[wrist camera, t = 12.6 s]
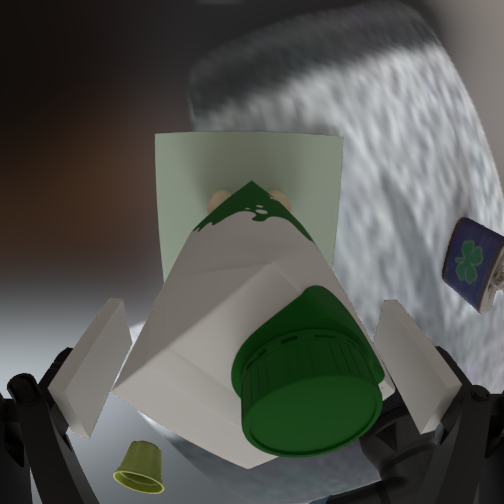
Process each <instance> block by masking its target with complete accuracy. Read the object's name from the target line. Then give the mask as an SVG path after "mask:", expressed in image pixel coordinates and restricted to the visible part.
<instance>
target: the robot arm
mask: <svg viewBox="0 0 504 504" xmlns="http://www.w3.org/2000/svg"><path fill="white" fill-rule="evenodd" d="M373 344H374V346H375V348H376V350H377V351H378V353H379V355H380V357H381V359H382V361H383V362H384V364H385V366H386V368H387V370H388V372H389V374H390V375H391V377H392V379H393V381H394V383H395V385H396V387H397V389H398V391H399V393H400V394H401V396H402V398H403V400H404V402H405V404H406V406H404V407H401V408H398V409H395V410H393V411H391V412H389V413H387V414H385V415H384V416H382V417H380V418H379V419H377V420H376V422H375V423H374V424H373V426H372V427H371V428H370V429H369V430H368V431H367V432H366V433H365V434H363V435H362V436H361V437H360V445H361V448H362V451H363V453H364V455H365V456H366V457H367V458H368V459H369V461H370V462H371V463H372V464H373V465H374V466H375V467H376V469H377V470H378V471H379V474H380V477H381V481H378V482H376V483H372V484H370V485H367V486H364V487H361V488H357V489H354V490H351V491H348V492H344V493H340V494H337V495H330V496H328V497H326V498H323V499H319V500H316V501H312V502H310V503H309V504H473V501H474V498H475V494H476V490H477V486H478V483H479V504H504V391H503V392H502V394H490V392H489V391H488V390H487V389H486V388H484V387H482V386H480V385H472V384H471V382H470V381H469V380H468V378H467V377H466V376H465V374H464V373H463V372H462V370H461V369H460V368H459V366H457V364H456V362H455V361H453V359H452V357H451V356H450V355H449V353H448V352H447V351H445V350H444V349H442V348H441V347H440V346H437V347H434V346H433V344H432V343H431V342H430V340H429V339H428V338H427V337H426V335H425V334H424V333H423V331H422V330H421V329H420V328H419V326H418V325H417V324H416V323H415V321H414V320H413V319H412V318H411V316H410V315H409V314H408V313H407V312H406V310H405V309H404V308H403V307H402V305H401V304H400V303H399V302H398V301H397V300H384V303H383V307H382V311H381V315H380V319H379V323H378V327H377V331H376V334H375V338H374V342H373ZM131 345H132V340H131V335H130V331H129V326H128V322H127V317H126V312H125V307H124V303H123V299H113V298H109V300H108V301H107V302H106V304H105V305H104V306H103V308H102V309H101V310H100V312H99V313H98V315H97V316H96V317H95V319H94V320H93V322H92V323H91V324H90V326H89V327H88V328H87V330H86V331H85V333H84V334H83V335H82V337H81V338H80V340H79V341H78V343H77V344H76V346H75V347H74V348H68V347H67V348H66V349H65V350H63V351H62V352H61V353H59V354H58V356H57V357H56V359H55V360H54V363H52V364H51V366H50V369H48V370H47V372H46V373H45V375H44V376H43V378H42V379H41V381H40V382H39V384H37V382H36V380H35V378H34V376H32V375H31V374H27V373H22V374H18V375H16V376H14V377H13V378H12V379H10V381H9V382H8V384H7V390H8V392H9V394H10V395H11V397H12V399H5V398H3V396H2V395H1V393H0V504H33V503H32V493H31V480H30V468H31V471H32V474H33V478H34V481H35V484H36V487H37V490H38V493H39V495H40V498H41V501H42V503H43V504H100V503H99V502H98V500H97V498H96V496H95V494H94V492H93V491H92V488H91V487H90V485H89V483H88V481H87V479H86V476H85V474H84V472H83V470H82V468H81V466H80V464H79V461H78V459H77V457H76V454H75V452H74V450H73V447H72V445H71V443H70V440H69V438H68V436H67V434H66V431H67V429H68V427H70V429H71V430H72V432H73V434H74V435H78V436H82V437H85V438H89V439H90V437H91V435H92V432H93V430H94V427H95V425H96V423H97V420H98V418H99V415H100V413H101V411H102V408H103V406H104V404H105V402H106V399H107V397H108V395H109V392H110V390H111V388H112V386H113V383H114V381H115V379H116V377H117V375H118V373H119V370H120V368H121V366H122V364H123V362H124V360H125V358H126V355H127V353H128V351H129V349H130V347H131ZM440 421H441V422H442V424H443V426H444V427H443V429H442V430H441V432H440V433H439V435H438V436H437V438H435V429H436V427H437V426H438V424H439V423H440ZM437 440H438V442H437ZM436 442H437V444H436Z"/></svg>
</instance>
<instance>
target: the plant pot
mask: <svg viewBox="0 0 504 504" xmlns="http://www.w3.org/2000/svg"><path fill="white" fill-rule="evenodd" d="M113 477H114V479H115V480H116V481H118V482H119V483H120V484H122V485H124V486H125V487H128V488H130V489H133V490H135V491H139V492H144V493H152V494H154V493H161V492H162V491H163V490H164V486H163V484H162V479H161V450H159V448H158V447H157V446H156V445H154V444H152V443H149V442H146V441H139V442H137V441H134V442H132V443H131V445H130V447H129V449H128V452H127V454H126V456H125V458H124V460H123V462H122V464H121V466H120V467H118V469H117V471H115V472H114V473H113Z"/></svg>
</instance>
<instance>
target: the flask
mask: <svg viewBox="0 0 504 504" xmlns="http://www.w3.org/2000/svg"><path fill="white" fill-rule="evenodd" d="M442 273H443V274H442V277H443V278H442V279H443V280H444V282H445V283H446V284H448V285H449V286H450V287H451V288H453V289H454V290H455V291H456V292H457V293H458V294H460V296H461V297H463V298H464V299H465V300H466V301H467V302H468V303H469V304H471V305H472V306H473V307H474V308H475V309H476V310H477V311H478V312H479V313H480V314H484V313H486V312H487V311H488V310H489V309H490V308H491V306H492V303H493V299H494V296H495V293H496V290H497V291H498V290H499V289H500V290H503V292H504V237H503V236H502V235H500V234H498V233H496V232H494V231H492V230H490V229H488V228H486V227H485V226H483V225H481V224H479V223H477V222H475V221H473V220H471V219H469V218H464V217H462V218H460V219H459V220H458V222H457V224H456V226H455V228H454V231H453V234H452V237H451V239H450V242H449V246H448V251H447V254H446V258H445V263H444V267H443V272H442ZM498 288H499V289H498Z"/></svg>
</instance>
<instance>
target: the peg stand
mask: <svg viewBox="0 0 504 504" xmlns="http://www.w3.org/2000/svg"><path fill="white" fill-rule="evenodd" d="M342 157H343V137H339V136H328V135H316V134H302V133H285V132H257V131H207V132H179V133H162V134H155V162H156V188H157V207H158V222H159V235H160V246H161V258H162V267H163V277H164V283H165V281H166V279H167V277H168V275H169V273H170V271H171V269H172V267H173V265H174V263H175V261H176V259H177V257H178V255H179V253H180V251H181V249H182V248H183V246H184V244H185V242H186V240H187V238H188V236H189V235H190V233H191V232H192V230H193V229H194V228H195V227H196V226H197V225H198V224H199V223H200V222H201V221H202V220H203V219H204V218H206V217H207V216H208V215H209V214H210V213H211V212H212V211H213V210H214V209H216V208H217V207H218V206H219V205H220V204H221V203H223V202H224V201H225V200H226V199H227V198H229V197H230V196H231V195H233V194H234V193H235V192H237V191H238V190H239V189H241V188H242V187H243V186H245V185H246V184H247V183H249V182H250V181H251V180H252V181H253V182H255V183H256V184H257V185H258V186H260V187H261V188H262V189H264V190H265V191H266V192H268V193H269V194H270V195H271V196H273V197H274V198H275V199H277V200H278V201H279V202H280V203H281V204H282V205H283V206H284V207H285V208H286V209H287V210H288V211H289V212H290V213H291V214H292V215H293V216H294V217H295V218H296V219H297V220H298V221H299V222H300V223H301V224H302V226H303V227H304V228H305V229H306V231H307V232H308V233H309V235H310V236H311V238H312V239H313V241H314V242H315V244H316V246H317V247H318V249H319V250H320V252H321V254H322V255H323V257H324V258H325V260H326V262H327V263H328V265H329V266H330V268H331V270H332V264H333V256H334V248H335V239H336V230H337V221H338V210H339V199H340V187H341V173H342Z"/></svg>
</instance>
